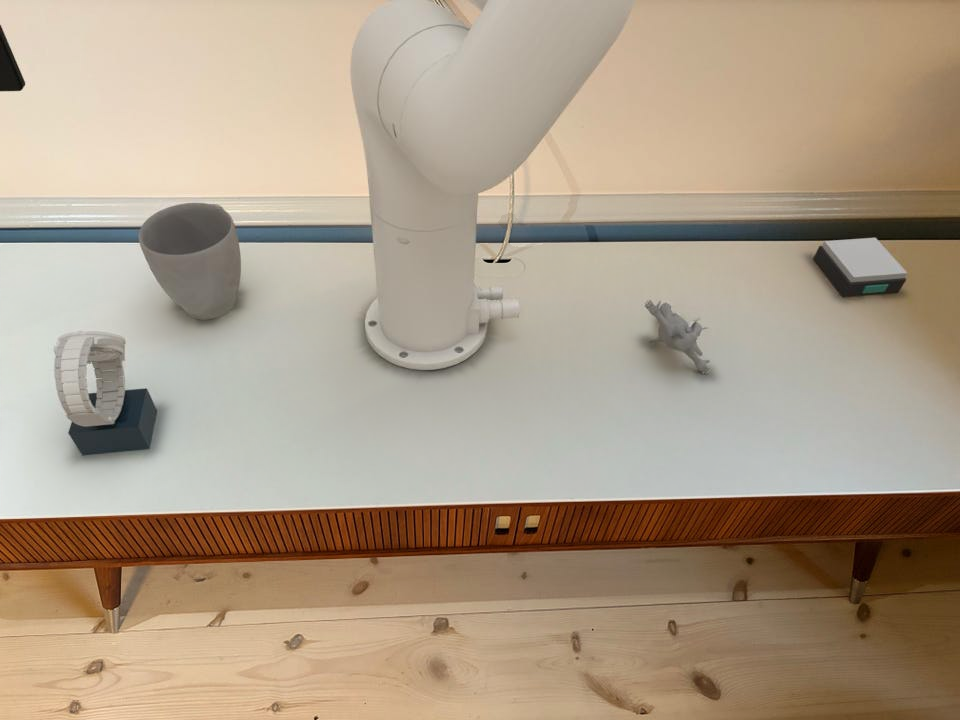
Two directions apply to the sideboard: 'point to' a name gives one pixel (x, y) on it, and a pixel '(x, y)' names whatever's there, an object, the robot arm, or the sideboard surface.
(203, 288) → the mug
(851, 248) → the scale
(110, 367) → the watch
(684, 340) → the grey creature figurine
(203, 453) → the sideboard surface
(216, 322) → the sideboard surface
